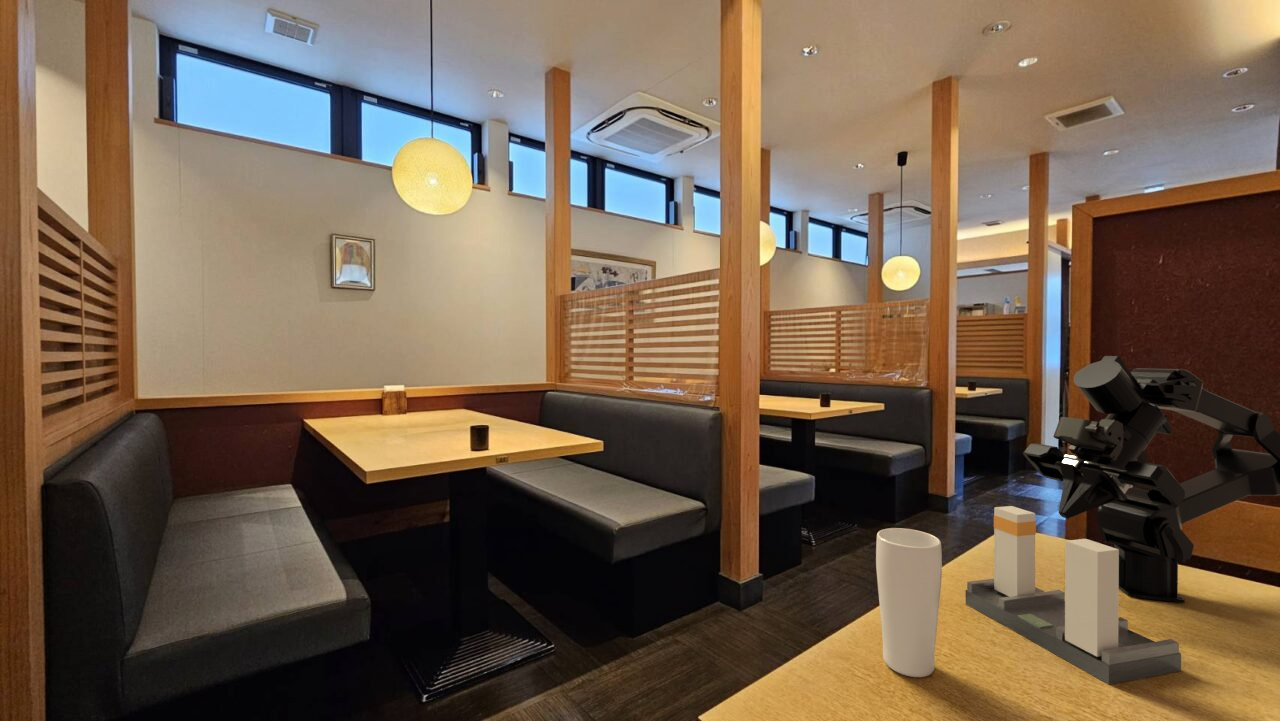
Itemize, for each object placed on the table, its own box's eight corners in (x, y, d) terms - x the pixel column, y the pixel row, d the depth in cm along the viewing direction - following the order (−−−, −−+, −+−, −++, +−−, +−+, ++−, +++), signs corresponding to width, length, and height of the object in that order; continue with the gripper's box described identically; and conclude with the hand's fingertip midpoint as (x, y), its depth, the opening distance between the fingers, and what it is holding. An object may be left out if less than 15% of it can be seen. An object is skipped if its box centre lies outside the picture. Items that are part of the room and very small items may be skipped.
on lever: (1085, 636, 64) (1085, 538, 64) (1118, 653, 60) (1118, 549, 60) (1064, 639, 63) (1065, 540, 63) (1097, 656, 60) (1097, 552, 59)
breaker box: (1024, 595, 79) (1024, 574, 79) (1181, 671, 61) (1181, 642, 61) (965, 603, 77) (965, 581, 77) (1108, 684, 58) (1108, 655, 58)
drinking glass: (951, 687, 58) (951, 549, 58) (884, 680, 59) (883, 545, 59) (930, 652, 65) (930, 529, 64) (870, 647, 66) (870, 526, 66)
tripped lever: (1011, 586, 77) (1011, 505, 77) (1035, 598, 74) (1035, 513, 73) (993, 588, 77) (993, 507, 76) (1017, 600, 73) (1017, 515, 73)
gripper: (1032, 393, 87) (975, 465, 84) (1168, 403, 68) (1100, 495, 66) (1071, 439, 89) (1016, 511, 86) (1214, 461, 70) (1149, 553, 68)
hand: (1062, 515), depth 77 cm, fingers closed
